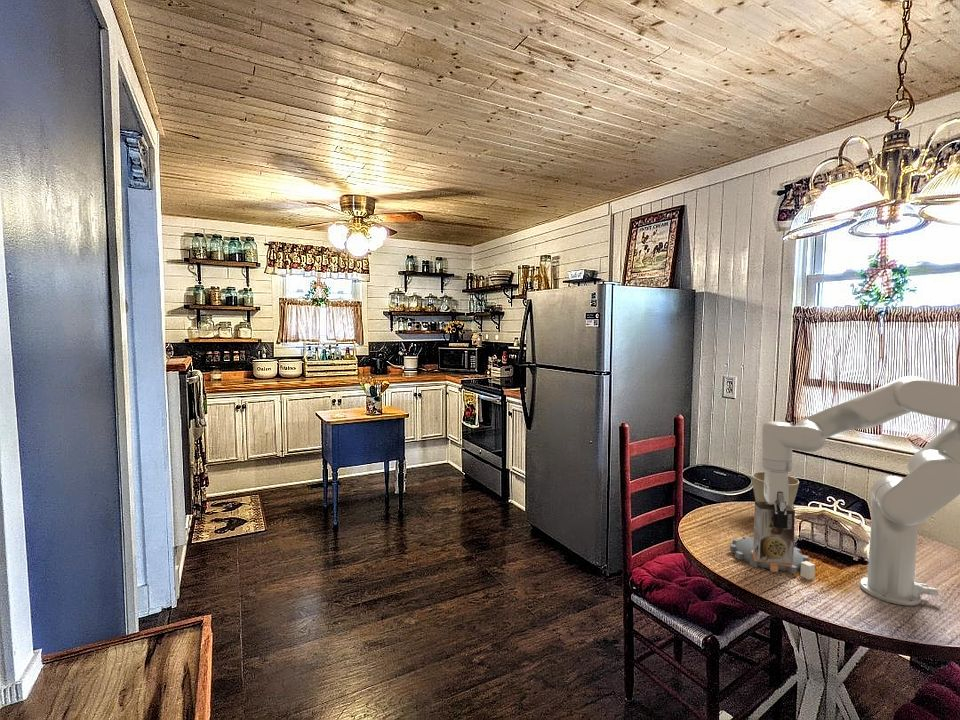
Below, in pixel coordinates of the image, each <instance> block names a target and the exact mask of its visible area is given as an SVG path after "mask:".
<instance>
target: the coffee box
mask: <svg viewBox="0 0 960 720" xmlns="http://www.w3.org/2000/svg"><path fill="white" fill-rule="evenodd" d="M778 507H779V506H777V508H778ZM792 507H793V506H792ZM792 507H791V506H789V505H787V506H786V514H787V528H776V527H774V526H773V513H775V511H774V504H771V505H769V504H768V502H761V501H756V500H754V518H753V519H754V520H753V538H754V542H753V552H754V554H755V555H756V557H757V558H758V560H759V561H764V562H775V563H786V564H793V553H794V548H795V547H794V546H795V524H796V523H795V518H796V510H794V509H793V508H792Z"/></svg>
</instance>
